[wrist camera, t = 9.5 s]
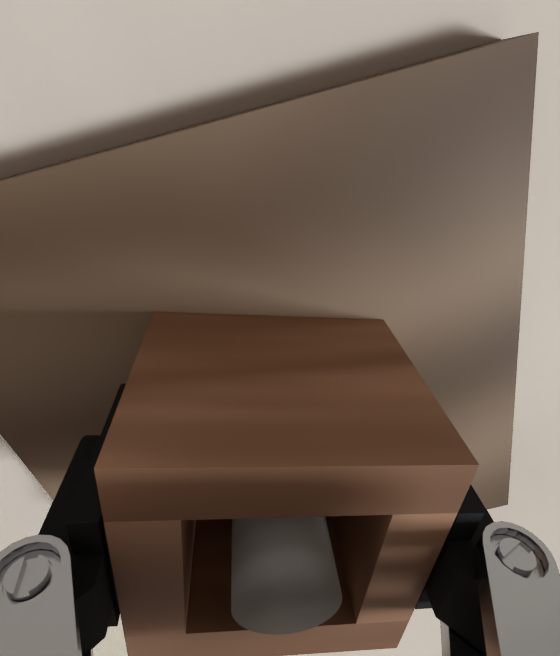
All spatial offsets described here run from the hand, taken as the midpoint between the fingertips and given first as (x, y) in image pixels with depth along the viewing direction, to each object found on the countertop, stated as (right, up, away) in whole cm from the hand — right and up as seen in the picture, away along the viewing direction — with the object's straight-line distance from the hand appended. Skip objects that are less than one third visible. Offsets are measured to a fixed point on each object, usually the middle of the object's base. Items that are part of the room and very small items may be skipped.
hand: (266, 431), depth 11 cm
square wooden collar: (0, -1, +2) cm, 2 cm away
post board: (0, +1, +2) cm, 2 cm away
